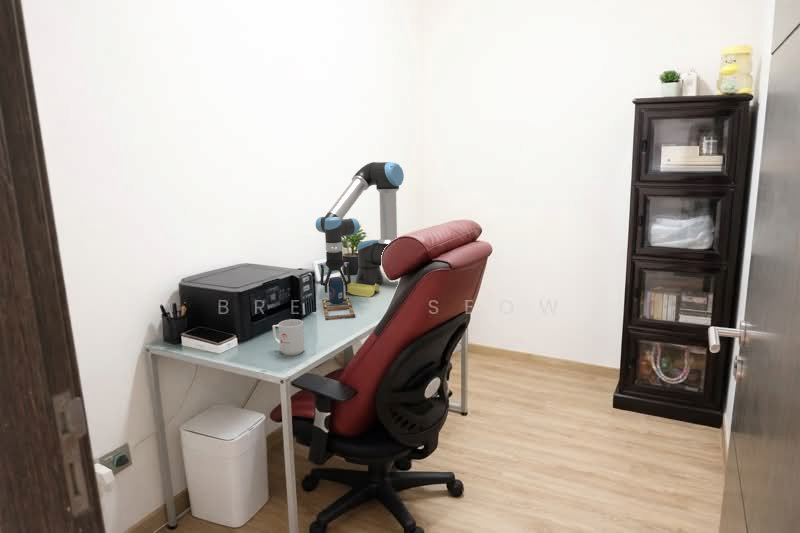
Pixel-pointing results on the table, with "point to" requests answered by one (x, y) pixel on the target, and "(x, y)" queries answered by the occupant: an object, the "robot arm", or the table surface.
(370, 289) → the plastic component
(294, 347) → the mug
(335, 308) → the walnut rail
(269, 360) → the table surface
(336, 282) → the soda can
